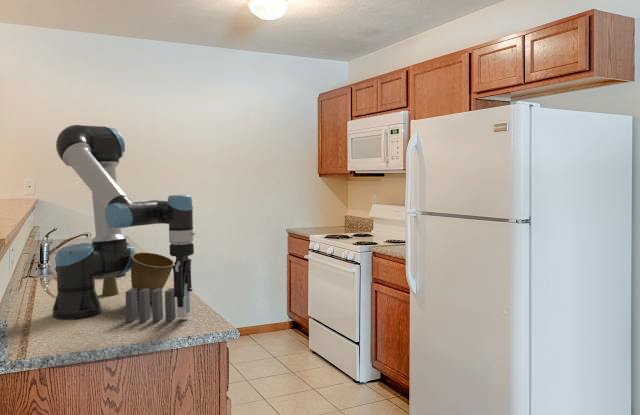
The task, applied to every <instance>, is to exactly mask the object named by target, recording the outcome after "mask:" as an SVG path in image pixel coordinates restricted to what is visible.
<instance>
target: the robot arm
mask: <svg viewBox="0 0 640 415" xmlns="http://www.w3.org/2000/svg"><path fill="white" fill-rule="evenodd" d="M55 145H56V146H55V147H56V152H57V155H58V156H59V158H60V160H61V161H62V162H63V163H64V164H65V165H66V166H68V167H70V168H72V170H74V172H75V173H76V174H77V175H78V177H79V178H80V179H81V180H82V181H83V182H84V184H85V185H86V186H87V188H88V189H89V190H90V191H91V198H92V208H93V209H92V210H93V220H94V221H93V222H94V230H95V232H94V233H95V236H94V237H93V239H92V240H91V243H89V242H84V243H83V242H82V243H75V244H71V245H67V246H63V247H61V248H59V250H57V251H56V253H55V255H56V256H55V266H56V269H55V270H56V289H57V294H56V298H55V301H54V304H53V306H52V317H53V318H55V319H56V320H57V319H58V320H75V319H76V320H77V319H83V318H88V317H92V316H96V315H98V314H101V313H102V303H101V301H100V299H99V296H98V294H97V291H96V282H95V281H96V280H100V279H104V278H106V277H111V276H118V275H120V274H124V273H126V274H127V273H128V272H129V271H131V261H132V255H133V254H136V253H135V249H134V247H133V245H132V244H131V243H130V242H128V241H127V237H126V236H125V235H123V234H122V229H125V228H130V227H139V226H149V225H160V224H164V225H167V224H168V241H169V243H170V244H169V255H170V256H171V257H175V261H174V265H173V268H172V272H173V288H174V295H173V296H174V297H175V302H176V318H186V317H187V315H186V297H185V296H184V295H185V294H184V291H185V283H187V285H188V313H191V292H193V290H194V289H193V288H192V259H191V258H189V256H190V257H191V256H193V255H194V253H195V251H194V250H195V247H194V243H193V241H194V236H195V235H196V233H195V232H194V216H193V214H194V212H193V209H194V207H193V200H192V197H191V195H189V194H172V195H168V196H167V200H158V199H153V200H147V201H136V202H135V201H132V200H131V199H130V197H129V196H128V195H127V194H126V192H124V190H123V189H122V188H121V187H120V186H119V184H118V183H117V174H116V173H117V171H116V168H117V167H118V166H119V164H120V159H121V158H123V157H124V155H125V154H124V153H125V152H126V151H125V150H126V144H125V139H124V138H123V136H122V134H121V133H120V132H119V131H118V130H117V129H116V128H113V127H107V126H100V125H99V126H98V125H83V124H82V125H81V124H73V125H70V126H67V127H65V128H64V129H62V130H61V131H60V132H59V133H58V136H57V138H56V142H55Z"/></svg>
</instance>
